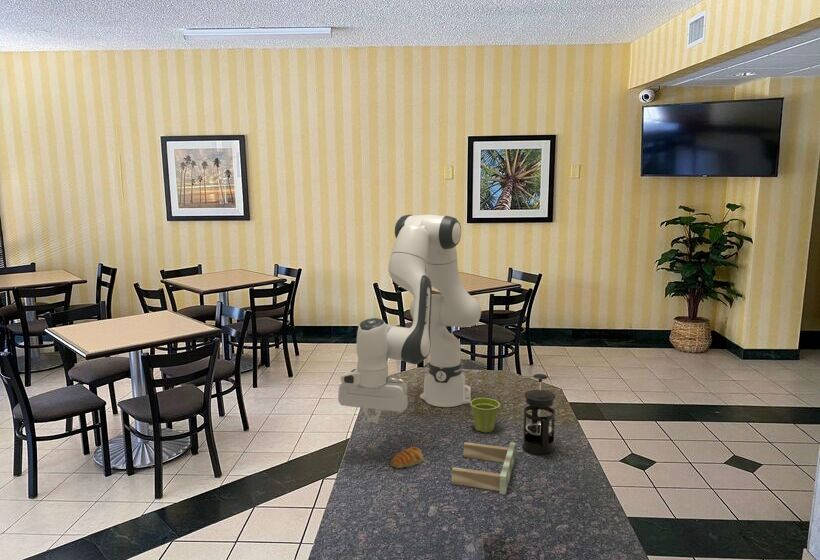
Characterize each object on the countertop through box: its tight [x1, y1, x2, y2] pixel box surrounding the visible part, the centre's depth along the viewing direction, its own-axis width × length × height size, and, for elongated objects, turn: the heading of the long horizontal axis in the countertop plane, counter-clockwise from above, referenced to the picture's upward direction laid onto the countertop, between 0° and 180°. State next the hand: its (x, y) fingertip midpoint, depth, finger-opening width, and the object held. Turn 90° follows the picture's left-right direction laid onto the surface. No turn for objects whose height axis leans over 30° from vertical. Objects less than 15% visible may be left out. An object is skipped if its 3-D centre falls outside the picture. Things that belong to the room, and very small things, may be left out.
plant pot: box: [469, 397, 501, 433], centre depth 191 cm, size 9×9×9 cm
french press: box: [522, 373, 556, 457], centre depth 175 cm, size 12×9×23 cm
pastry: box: [390, 446, 425, 469], centre depth 170 cm, size 9×7×4 cm
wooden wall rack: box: [451, 441, 516, 495], centre depth 164 cm, size 20×14×5 cm
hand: (373, 422), depth 171 cm, fingers closed
